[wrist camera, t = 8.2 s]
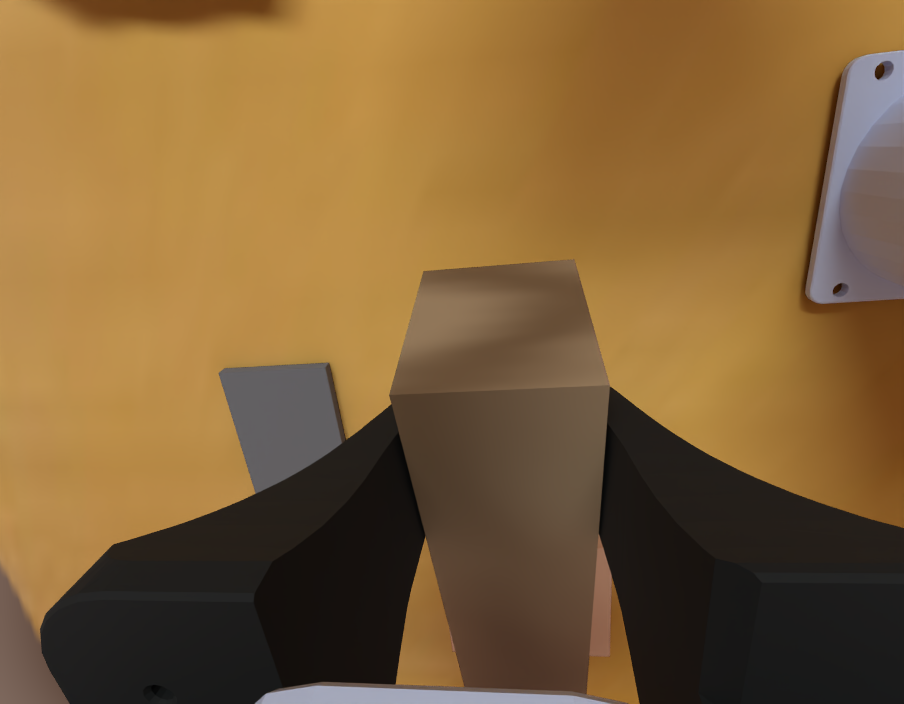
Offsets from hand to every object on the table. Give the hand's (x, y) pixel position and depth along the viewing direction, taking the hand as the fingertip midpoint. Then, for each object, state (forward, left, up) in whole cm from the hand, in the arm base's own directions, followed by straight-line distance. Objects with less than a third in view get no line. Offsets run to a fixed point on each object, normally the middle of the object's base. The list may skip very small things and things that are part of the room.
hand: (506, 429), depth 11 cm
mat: (+11, +9, -9) cm, 16 cm away
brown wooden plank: (0, +2, -3) cm, 4 cm away
